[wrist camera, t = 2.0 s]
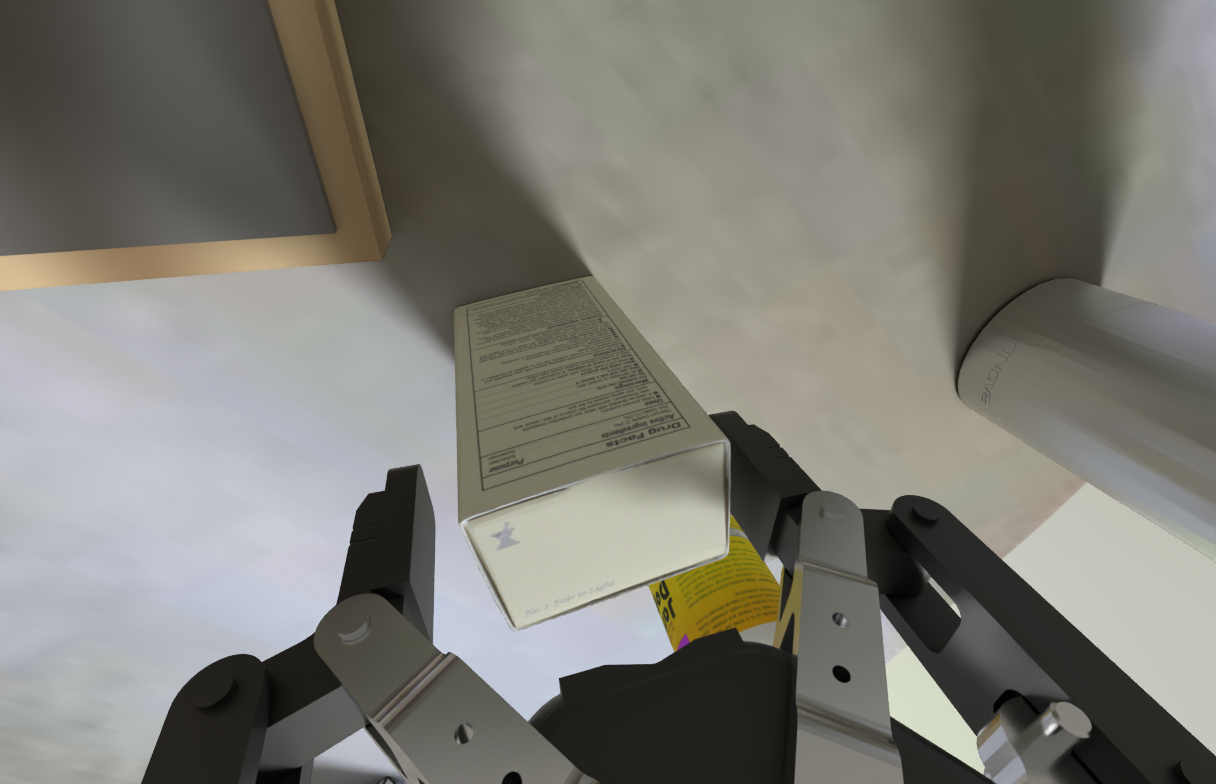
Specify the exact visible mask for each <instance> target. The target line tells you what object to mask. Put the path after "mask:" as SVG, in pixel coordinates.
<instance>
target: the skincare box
mask: <svg viewBox="0 0 1216 784" xmlns="http://www.w3.org/2000/svg"><path fill="white" fill-rule="evenodd" d="M454 340H455V383H456V428H457V476H458V523H459V525H460V527H461V530H462V531H463V533H464V536H465V538H466V541H467V543H468V546H469V548H470V549H471V552H472V554H473V556H474V558H475V561H476V563H477V565H478V567H479V570H480V572H481V573H482V576H483V577H484V579H485V581H486V583H487V586H488V588H489V590H490V592H491V594H492V597H493V598H494V600H495V602H496V604H497V606H498V608H499V609H500V611H501V613H502V614H503V616H504V618H505V620H506V622H507V624H508V626H509V628H510V629H511V630H513V631H519V630H522V629H525V628H528V627H530V626H533V625H537V624H540V623H543V622H546V621H549V620H552V619H555V618H558V617H560V616H563V615H566V614H569V613H572V612H575V611H578V610H580V609H583V608H586V607H588V606H592V605H594V604H598V603H600V602H603V601H605V600H608V599H612V598H615V597H617V596H620V595H622V594H625V593H628V592H631V591H634V590H637V589H640V588H643V587H644V586H648V585H650V584H653V583H656V582H659V581H662V580H665V579H667V578H670V577H673V576H675V575H678V574H680V573H683V572H686V571H689V570H692V569H695V568H697V567H700V566H703V565H706V564H708V563H711V562H714V561H717V560H720V559H722V558H725V557H726V556H727V555H728V552H729V530H730V489H731V473H730V463H731V451H730V441H729V440H728V438H727V437H726V436H725V435H724V434H723V433H722V431H721V430H720V429H719V428H718V427H717V425H716V424H715V423H714V422H713V421H712V420H711V418H710V417H709V416H708V415H707V413H706V412H705V411H704V410H703V409H702V407H701V406H700V405H699V404H698V402H697V401H696V400H695V399H694V398H693V397H692V395H691V394H690V393H689V392H688V391H687V389H686V388H685V387H684V386H683V385H682V383H681V382H680V381H679V380H678V378H677V377H676V376H675V375H674V373H673V372H672V371H671V370H670V369H669V368H668V366H667V365H666V364H665V363H664V361H663V360H662V359H661V358H660V356H659V355H658V354H657V353H656V352H655V350H654V349H653V348H652V346H651V345H650V344H649V343H648V342H647V341H646V339H645V338H644V337H643V336H642V334H641V333H640V332H639V331H638V330H637V328H636V327H635V326H634V325H633V324H632V322H631V321H630V320H629V319H628V317H627V316H626V315H625V314H624V312H623V311H622V310H621V309H620V308H619V306H618V305H617V304H616V303H615V302H614V300H613V299H612V298H611V297H610V296H609V294H608V293H607V292H606V291H605V289H604V288H603V287H602V286H601V285H600V283H599V282H598V281H597V280H596V279H595V277H593V276H587V277H582V278H577V279H573V280H568V281H563V282H559V283H554V284H550V285H545V286H541V287H537V288H533V289H528V290H524V291H520V292H516V293H511V294H507V295H503V296H499V297H495V298H490V299H486V300H483V301H479V302H475V303H472V304H468V305H464V306H460V307H457V308H455V310H454Z"/></svg>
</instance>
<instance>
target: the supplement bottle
mask: <svg viewBox="0 0 1216 784" xmlns="http://www.w3.org/2000/svg"><path fill="white" fill-rule="evenodd" d="M649 588H650V591H651V593H652V596H653V598H654V601H655V603H656V606H657V609H658V612H659V614H660V616H661V619H662V621H663V624H664V627H665V629H666V632H667V635H668V637H669V640H670V642H671V645H672V647H673V650H674V652H676V651H677V650H679V649H680V648H682V647H683V646H685V645H687V644H688V643H690V642H691V641H693V640H694V639H697V638H700V637H704V636H707V635H711V634H714V633H718V632H721V631H724V630H728V629H731V628H735V627H736V628H737V630H738V632H739V634H740V636H741V638H742V639H743V641H752V642H759V643H763V644H767V645H771V646H773V641H774V636H775V629H776V620H777V610H778V601H779V591H780V585H779V584H778V582H777V581H776V579H775V578H774V576H773V574H772V573H771V571H770V570H769V568H768V567H767V565H766V563H765V562H763V561H762V559H761V558H760V556H759V555H758V553H757V552H756V550H755V548H754V547H753V545H752V544H751V542H750V541H749V539H748V538H747V536H746V535H745V533H744V532H743V530H742V529H741V527H740V526H739V524H738V523H737V521H736V520H735V518H734V517H733V515H732V514H731V512H730V530H729V552H728V555H727V556H726V557H725V558H722V559H720V560H717V561H714V562H711V563H708V564H706V565H703V566H700V567H697V568H695V569H692V570H689V571H686V572H683V573H680V574H678V575H675V576H673V577H670V578H667V579H665V580H662V581H659V582H656V583H653V584H650V585H649Z"/></svg>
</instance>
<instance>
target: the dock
mask: <svg viewBox="0 0 1216 784" xmlns="http://www.w3.org/2000/svg"><path fill="white" fill-rule="evenodd" d="M391 237H392V234H391V230H390V226H389V222H388V218H387V214H386V209H385V205H384V201H383V197H382V193H381V189H380V185H379V181H378V177H377V173H376V169H375V165H374V160H373V156H372V152H371V148H370V144H369V140H368V136H367V132H366V128H365V124H364V120H363V115H362V111H361V107H360V103H359V99H358V95H357V91H356V87H355V83H354V79H353V75H352V70H351V66H350V62H349V58H348V54H347V50H346V46H345V42H344V38H343V34H342V30H341V26H340V21H339V17H338V13H337V9H336V5H335V1H334V0H0V291H5V290H17V289H30V288H42V287H55V286H67V285H80V284H92V283H105V282H117V281H129V280H142V279H154V278H167V277H179V276H192V275H204V274H217V273H229V272H242V271H254V270H267V269H279V268H291V267H304V266H316V265H329V264H341V263H354V262H366V261H379V260H382V258H383V256H384V254H385V251H386V249H387V247H388V244H389V242H390V240H391Z"/></svg>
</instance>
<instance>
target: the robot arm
mask: <svg viewBox="0 0 1216 784" xmlns="http://www.w3.org/2000/svg"><path fill="white" fill-rule="evenodd" d="M958 390H959V396H960V398H961V400H962V402H963V403H964V404H965V405H966V406H968V407H969V408H970V409H972V410H973V411H975V412H977V413H978V414H980V415H981V416H983V417H985V418H986V419H988V420H989V421H991V422H993V423H994V424H996V425H997V426H999V427H1001V428H1002V429H1004V430H1005V431H1007V432H1009V433H1010V434H1012V435H1013V436H1015V437H1017V438H1018V439H1020V440H1021V441H1023V442H1024V443H1025V444H1027V445H1029V446H1030V447H1032V448H1033V449H1035V450H1037V451H1038V452H1040V453H1041V454H1043V455H1045V456H1046V457H1048V458H1049V459H1051V460H1053V461H1054V462H1056V463H1057V464H1059V465H1061V466H1062V467H1064V468H1065V469H1067V470H1069V471H1070V472H1072V473H1073V474H1075V475H1077V476H1078V477H1080V478H1081V479H1083V480H1085V481H1086V482H1088V483H1090V484H1091V485H1093V486H1094V487H1096V488H1097V489H1099V490H1101V491H1102V492H1104V493H1105V494H1107V495H1109V496H1110V497H1112V498H1113V499H1115V500H1117V501H1118V502H1120V503H1121V504H1123V505H1125V506H1126V507H1128V508H1129V509H1131V510H1133V511H1134V512H1136V513H1137V514H1139V515H1141V516H1142V517H1144V518H1146V519H1147V520H1149V521H1150V522H1152V523H1153V524H1155V525H1157V526H1158V527H1160V528H1161V529H1163V530H1165V531H1166V532H1168V533H1169V534H1171V535H1173V536H1174V537H1176V538H1177V539H1179V540H1181V541H1182V542H1184V543H1185V544H1187V545H1189V546H1190V547H1192V548H1193V549H1195V550H1197V551H1198V552H1200V553H1201V554H1203V555H1205V556H1206V557H1208V558H1209V559H1211V560H1213V561H1214V562H1216V323H1214V322H1210V321H1207V320H1204V319H1201V318H1198V317H1194V316H1191V315H1188V314H1185V313H1182V312H1178V311H1175V310H1172V309H1169V308H1166V307H1162V306H1159V305H1157V304H1154V303H1151V302H1147V301H1144V300H1141V299H1138V298H1135V297H1131V296H1128V295H1125V294H1122V293H1118V292H1115V291H1112V290H1109V289H1106V288H1102V287H1099V286H1096V285H1093V284H1090V283H1086V282H1083V281H1080V280H1076V279H1071V278H1062V279H1054V280H1051V281H1048V282H1045V283H1042V284H1039V285H1038V286H1036V287H1034V288H1032V289H1030V290H1028V291H1026V292H1024V293H1023V294H1022V295H1020V296H1019V297H1017V298H1016V299H1014V300H1013V301H1012V302H1010V303H1009V304H1008V305H1007V306H1006V307H1005V308H1003V309H1002V310H1001V311H1000V312H999V313H998V314H997V315H996V316H995V317H994V318H993V319H992V320H991V321H990V322H989V323H988V324H987V326H986V327H985V328H984V329H983V330H982V331H981V333H980V334H979V336H978V337H977V339H976V340H975V341H974V343H973V344H972V346H971V348H970V350H969V351H968V353H967V355H966V357H965V359H964V362H963V365H962V367H961V370H960V374H959V380H958ZM709 417H710V418H711V420H712V421H713V422H714V423H715V424H716V425H717V427H718V428H719V429H720V430H721V431H722V433H723V434H724V435H725V436H726V437H727V438H728V440H729V441H730V451H731V463H730V473H731V489H730V512H731V514H732V515H733V517H734V518H735V520H736V521H737V523H738V524H739V526H740V527H741V529H742V530H743V532H744V533H745V535H746V536H747V538H748V539H749V541H750V542H751V544H752V545H753V547H754V548H755V550H756V552H757V553H758V555H759V556H760V558H761V559H762V561H763V562H767V561H771V560H775V559H780V561H781V562H782V563H783V568H782V572H781V581H780V591H779V601H778V610H777V620H776V629H775V636H774V641H773V646H771V645H767V644H763V643H759V642H752V641H743V639H742V638H741V636H740V634H739V632H738V630H737V628H736V627H735V628H731V629H728V630H724V631H721V632H718V633H714V634H711V635H707V636H704V637H700V638H697V639H694V640H693V641H691V642H690V643H688V644H687V645H685V646H683V647H682V648H680V649H679V650H677V651H676V652H674V653H673V654H671V655H669V656H668V657H666V658H665V659H663V660H662V661H660V662H658V663H655V664H631V665H603V666H600V667H596V668H593V669H590V670H586V671H583V672H579V673H576V674H572V675H569V676H565V677H562V678H559V684H560V694H559V695H557V696H555V697H554V698H552V699H551V700H550V701H548V702H547V703H546V704H545V705H543V706H542V707H541V708H540V709H539V710H538V711H537V712H536V713H535V714H534V715H533V716H532V717H531V719H530V720H529V721H528V722H527V721H526V720H525V719H524V718H523V717H522V716H521V715H520V714H519V713H518V712H517V711H516V710H515V709H514V708H512V707H511V706H510V705H509V704H508V703H507V702H506V701H505V700H504V699H503V698H502V697H501V696H500V695H499V694H498V693H496V692H495V691H494V690H493V689H492V688H491V687H490V686H489V685H488V684H487V683H486V682H485V681H484V680H483V679H482V678H481V677H479V676H478V675H477V674H476V673H475V672H474V671H473V670H472V669H471V668H470V667H469V666H468V665H467V664H466V663H465V662H463V661H462V660H461V659H460V658H459V657H458V656H456V655H455V654H453V653H451V652H448V653H447V654H446V655H445V654H443V653H442V652H440V651H439V650H438V649H437V648H436V647H435V646H434V645H433V614H434V570H435V518H434V511H433V506H432V503H431V499H430V495H429V492H428V488H427V485H426V481H425V477H424V474H423V470H422V467H421V465H420V464H417V465H411V466H406V467H400V468H394V469H389V470H388V474H387V480H386V487H385V491H381V492H375V493H370V494H368V495H367V497H366V498H365V499H364V501H363V502H362V503H361V505H360V506H359V508H358V509H357V510H356V515H355V519H354V524H353V531H352V534H351V539H350V546H349V548H348V553H347V558H346V563H345V567H344V572H343V577H342V582H341V586H340V591H339V596H338V600H337V604H336V606H334V607H333V608H332V609H331V610H330V611H329V612H328V613H327V614H326V615H325V616H324V617H323V619H322V620H321V621H320V623H319V625H318V627H317V629H316V631H315V633H313V634H312V635H311V636H309V637H308V638H306V639H305V640H303V641H302V642H300V643H298V644H296V645H294V646H292V647H290V648H288V649H286V650H284V651H283V652H281V653H279V654H277V655H275V656H273V657H271V658H269V659H267V660H265V661H263V662H261V661H260V660H259V659H258V658H256V657H255V656H252V655H248V654H237V655H232V656H228V657H225V658H223V659H220V660H218V661H216V662H214V663H212V664H210V665H209V666H207V667H205V668H204V669H203V670H201V671H200V672H198V673H197V674H196V675H195V676H194V677H193V678H191V679H190V680H189V681H188V682H187V683H186V684H185V685H184V686H183V688H182V689H181V690H180V692H179V693H178V694H177V696H176V697H175V699H174V700H173V702H172V705H171V707H170V709H169V711H168V714H167V717H166V719H165V722H164V725H163V727H162V730H161V733H160V735H159V738H158V740H157V743H156V746H155V748H154V751H153V754H152V756H151V759H150V761H149V764H148V767H147V769H146V772H145V775H144V777H143V780H142V783H141V784H310V782H311V774H312V767H313V760H314V758H315V757H317V756H318V755H320V754H321V753H323V752H325V751H326V750H328V749H329V748H331V747H333V746H334V745H336V744H337V743H339V742H341V741H342V740H344V739H345V738H347V737H349V736H350V735H352V734H354V733H355V732H357V731H358V730H360V729H362V728H364V730H365V731H366V732H367V733H368V735H369V736H370V737H371V738H372V740H373V741H374V742H375V743H376V745H377V746H378V747H379V748H380V750H381V751H382V752H383V753H384V755H385V756H386V757H387V758H388V760H389V761H390V762H391V763H392V765H393V766H394V767H395V768H396V770H397V771H398V772H399V773H400V775H401V776H402V777H403V778H404V780H405V781H406V782H407V783H408V784H1216V756H1215V755H1214V754H1213V753H1212V752H1211V751H1209V750H1208V749H1207V748H1206V747H1205V746H1204V745H1203V744H1202V743H1201V742H1200V741H1199V740H1197V739H1196V738H1195V737H1194V736H1193V735H1192V734H1191V733H1190V732H1189V731H1188V730H1187V729H1185V728H1184V727H1183V726H1182V725H1181V724H1180V723H1179V722H1178V721H1177V720H1176V719H1175V718H1173V717H1172V716H1171V715H1170V714H1169V713H1168V712H1167V711H1166V710H1165V709H1164V708H1163V707H1162V706H1160V705H1159V704H1158V703H1157V702H1156V701H1155V700H1154V699H1153V698H1152V697H1151V696H1150V695H1148V694H1147V693H1146V692H1145V691H1144V690H1143V689H1142V688H1141V687H1140V686H1139V685H1138V684H1137V683H1135V682H1134V681H1133V680H1132V679H1131V678H1130V677H1129V676H1128V675H1127V674H1126V673H1124V672H1123V671H1122V670H1121V669H1120V668H1119V667H1118V666H1117V665H1116V664H1115V663H1114V662H1113V661H1111V660H1110V659H1109V658H1108V657H1107V656H1106V655H1105V654H1104V653H1102V651H1101V650H1100V649H1098V648H1097V647H1096V646H1095V645H1094V644H1093V643H1092V642H1091V641H1090V640H1089V639H1088V638H1086V637H1085V636H1084V635H1083V634H1082V633H1081V632H1080V631H1079V630H1078V629H1077V628H1076V627H1075V626H1073V625H1072V624H1071V623H1070V622H1069V621H1068V620H1067V619H1066V618H1065V617H1064V616H1063V615H1061V614H1060V613H1059V612H1058V611H1057V610H1056V609H1055V608H1054V607H1053V606H1052V605H1051V604H1049V603H1048V602H1047V601H1046V600H1045V599H1044V598H1043V597H1042V596H1041V595H1040V594H1039V593H1038V592H1036V591H1035V590H1034V589H1033V588H1032V587H1031V586H1030V585H1029V584H1028V583H1027V582H1025V581H1024V580H1023V579H1022V578H1021V577H1020V576H1019V575H1018V574H1017V573H1016V572H1015V571H1014V570H1012V569H1011V568H1010V567H1009V566H1008V565H1007V564H1006V563H1005V562H1004V561H1003V560H1002V559H1001V558H999V557H998V556H997V555H996V554H995V553H994V552H993V551H992V550H991V549H990V548H989V547H987V546H986V545H985V544H984V543H983V542H982V541H981V540H980V539H979V538H978V537H977V536H975V535H974V534H973V533H972V532H971V531H970V530H969V529H968V528H967V527H966V526H965V525H963V524H962V523H961V522H960V521H959V520H958V519H957V518H956V517H955V516H954V515H953V514H952V513H950V512H949V511H948V510H947V509H946V508H945V507H943V506H942V505H940V504H938V503H936V502H935V501H932V500H930V499H927V498H924V497H921V496H915V495H905V496H901V497H899V498H897V499H896V500H895V501H894V503H893V505H892V508H891V510H875V509H859V508H858V507H857V506H856V505H855V504H854V503H853V502H852V501H851V500H849V499H848V498H846V497H844V496H842V495H840V494H837V493H834V492H830V491H822V490H821V489H820V488H819V487H818V486H817V485H816V484H815V483H814V482H813V481H812V480H811V478H810V477H809V476H808V475H807V474H806V473H805V472H804V471H803V470H802V469H801V468H800V467H799V465H798V464H797V463H796V462H795V461H794V460H793V459H792V458H791V457H789V456H788V454H787V452H786V451H785V450H784V449H783V448H780V445H779V444H778V443H777V442H776V441H775V439H774V438H773V437H772V436H771V435H770V434H769V433H767V432H766V431H764V430H762V429H760V428H759V427H757V426H755V425H754V424H752V425H747V423H746V422H745V421H744V420H743V419H742V418H741V417H740V416H739V414H738V413H737V412H735V411H728V412H722V413H716V414H710V415H709ZM930 577H932V578H933V579H934V580H935V581H936V582H937V584H938V585H939V586H940V587H941V588H942V589H943V590H944V591H945V592H946V593H947V595H948V596H949V597H950V598H951V599H952V600H953V601H954V602H955V604H956V605H957V607H958V609H959V611H960V615H961V618H960V617H959V616H958V615H957V614H956V613H955V611H954V610H953V609H952V608H951V607H950V606H949V605H948V604H947V602H946V601H945V600H944V599H943V598H942V597H941V596H940V595H939V593H938V592H937V591H936V590H935V589H934V588H933V587H932V586H931V585H930V583H929V582H928V581H929V579H930ZM880 609H881V610H882V612H883V613H884V614H885V616H886V617H887V618H888V620H889V621H890V622H891V624H892V625H893V626H894V628H895V629H896V630H897V632H898V633H899V634H900V636H901V637H902V638H903V640H904V641H905V642H906V644H907V645H908V646H909V647H910V649H911V650H912V651H913V653H914V654H915V655H916V656H917V658H918V659H919V661H920V662H921V663H922V665H923V666H924V667H925V669H926V670H927V671H928V673H929V674H930V675H931V677H932V678H933V679H934V680H935V682H936V683H937V685H938V686H939V687H940V688H941V690H942V691H943V692H944V694H945V695H946V696H947V698H948V699H949V700H950V702H951V703H952V704H953V706H954V707H955V708H956V710H957V711H958V712H959V714H960V715H961V716H962V718H963V719H964V720H965V722H966V723H967V724H968V726H969V727H970V728H971V730H972V731H973V732H974V734H975V735H976V736H977V749H978V753H979V756H980V758H981V760H982V762H983V764H984V766H985V769H984V775H983V774H981V773H979V772H978V771H976V770H975V769H973V768H972V767H970V766H968V765H967V764H965V763H964V762H962V761H961V760H959V759H957V758H956V757H954V756H953V755H951V754H949V753H948V752H946V751H945V750H943V749H941V748H940V747H938V746H937V745H935V744H934V743H932V742H930V741H929V740H927V739H926V738H924V737H922V736H920V735H919V734H918V733H916V732H914V731H913V730H911V729H910V728H908V727H906V726H905V725H903V724H902V723H900V722H898V721H897V720H895V719H894V718H892V717H891V716H890V714H889V713H890V712H889V702H888V691H887V680H886V669H885V658H884V647H883V636H882V625H881V615H880Z"/></svg>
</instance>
